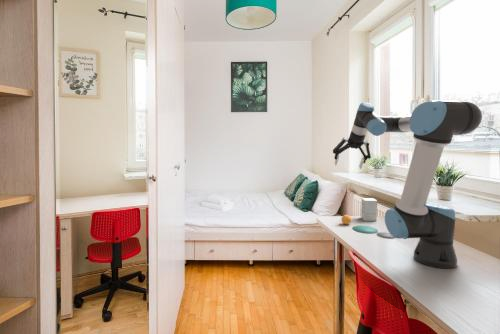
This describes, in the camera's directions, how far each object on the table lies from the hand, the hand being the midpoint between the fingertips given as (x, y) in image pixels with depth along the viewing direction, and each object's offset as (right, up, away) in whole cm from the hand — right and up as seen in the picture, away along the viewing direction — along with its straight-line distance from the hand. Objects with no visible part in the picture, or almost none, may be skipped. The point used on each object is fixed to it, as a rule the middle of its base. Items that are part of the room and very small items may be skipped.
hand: (347, 165), depth 165 cm
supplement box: (+18, -33, +16) cm, 41 cm away
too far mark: (+15, -36, -14) cm, 41 cm away
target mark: (+8, -35, -4) cm, 36 cm away
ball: (+1, -31, +5) cm, 32 cm away
